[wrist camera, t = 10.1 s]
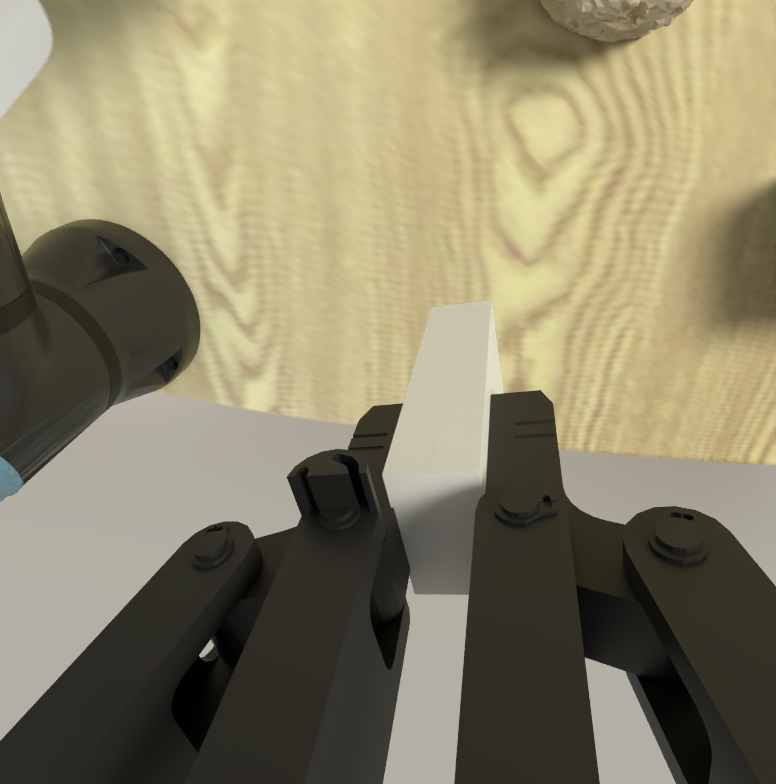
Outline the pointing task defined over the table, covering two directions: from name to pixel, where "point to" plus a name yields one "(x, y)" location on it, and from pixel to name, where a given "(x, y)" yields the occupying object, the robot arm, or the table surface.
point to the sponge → (614, 16)
